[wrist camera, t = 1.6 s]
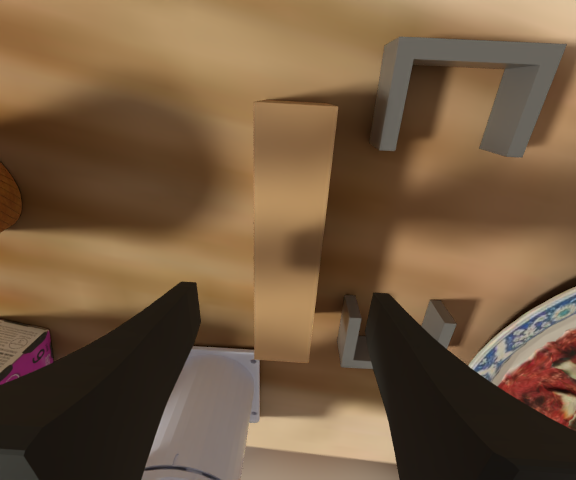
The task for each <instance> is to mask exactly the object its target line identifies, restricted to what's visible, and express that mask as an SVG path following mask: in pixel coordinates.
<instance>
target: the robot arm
mask: <svg viewBox="0 0 576 480" xmlns="http://www.w3.org/2000/svg"><path fill="white" fill-rule="evenodd" d="M200 322H201V318H200V310H199V301H198V293H197V284H196V282H180V283H179V284H177V285H176V286H175V287H173V288H172V289H171V290H169V291H168V292H167V293H166V294H164V295H163V296H162V297H160V298H159V299H158V300H156V301H155V302H154V303H152V304H151V305H150V306H148V307H147V308H145V309H144V310H143V311H141V312H140V313H138V314H137V315H135V316H134V317H133V318H131V319H130V320H128V321H127V322H125V323H124V324H122V325H121V326H119V327H118V328H116V329H115V330H113V331H111V332H110V333H108V334H106V335H105V336H103V337H101V338H99V339H98V340H96V341H94V342H92V343H91V344H89V345H87V346H85V347H83V348H81V349H79V350H77V351H75V352H73V353H71V354H69V355H67V356H65V357H63V358H61V359H59V360H57V361H55V362H53V363H51V364H49V365H47V366H44V367H42V368H40V369H38V370H35V371H33V372H31V373H28V374H26V375H24V376H21V377H19V378H16V379H14V380H11V381H9V382H6V383H4V384H1V385H0V480H240V478H241V472H242V465H243V459H244V453H245V446H246V440H247V434H248V427H249V423H257V422H258V421H259V419H260V360H252V359H254V350H250V349H233V348H217V347H200V346H193V345H194V342H195V339H196V336H197V333H198V329H199V326H200ZM365 334H366V340H367V346H368V352H369V356H370V360H371V363H372V367H373V370H374V373H375V377H376V380H377V383H378V387H379V390H380V393H381V397H382V400H383V403H384V406H385V410H386V414H387V418H388V421H389V426H390V431H391V436H392V441H393V446H394V451H395V457H396V462H397V467H398V473H399V478H400V480H576V431H574V430H572V429H570V428H568V427H566V426H564V425H562V424H560V423H558V422H556V421H555V420H553V419H551V418H549V417H547V416H545V415H544V414H542V413H540V412H538V411H537V410H535V409H533V408H532V407H530V406H528V405H526V404H525V403H523V402H521V401H520V400H518V399H516V398H515V397H513V396H512V395H510V394H508V393H507V392H505V391H504V390H502V389H501V388H499V387H498V386H496V385H495V384H493V383H492V382H490V381H489V380H487V379H486V378H484V377H483V376H481V375H480V374H478V373H477V372H476V371H474V370H473V369H472V368H470V367H469V366H468V365H466V364H465V363H464V362H462V361H461V360H460V359H458V358H457V357H456V356H455V355H453V354H452V353H451V352H450V351H448V350H447V349H446V348H445V347H444V346H443V345H441V344H440V343H439V342H438V341H437V340H436V339H434V338H433V337H432V336H431V335H430V334H429V333H428V332H427V331H426V330H425V329H424V328H423V327H421V326H420V325H419V324H418V323H417V322H416V321H415V320H414V319H413V318H412V317H411V316H410V315H409V314H408V313H407V312H406V311H405V310H404V309H403V308H402V307H401V306H400V305H399V304H398V303H397V302H396V300H395V299H394V298H393V297H392V296H390V295H389V294H387V293H373V296H372V301H371V306H370V310H369V315H368V320H367V324H366V329H365Z"/></svg>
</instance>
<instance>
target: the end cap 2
mask: <svg viewBox="0 0 576 480" xmlns="http://www.w3.org/2000/svg"><path fill="white" fill-rule="evenodd" d="M566 45H567V44H552V43H529V42H507V41H485V40H463V39H440V38H418V37H398V38H396V39H395V40H393V41H391V42H390V43H388V44H386V45H385V47H384V53H383V59H382V65H381V72H380V78H379V84H378V90H377V97H376V103H375V109H374V115H373V122H372V128H371V134H370V140H369V143H370V144H371V145H373V146H374V147H375V148H377V149H378V150H383V151H395V150H396V145H397V140H398V135H399V130H400V125H401V120H402V115H403V110H404V105H405V100H406V95H407V90H408V85H409V80H410V75H411V70H412V65H426V66H447V67H469V68H490V69H505V71H504V74H503V77H502V80H501V83H500V86H499V89H498V92H497V95H496V98H495V101H494V105H493V108H492V111H491V114H490V117H489V120H488V123H487V126H486V129H485V132H484V135H483V138H482V141H481V145H480V148H479V149H483V150H486V151H489V152H492V153H496V154H499V155H502V156H506V157H523V154H524V152H525V149H526V147H527V144H528V142H529V139H530V137H531V134H532V132H533V129H534V126H535V124H536V121H537V119H538V116H539V114H540V111H541V109H542V106H543V104H544V101H545V99H546V96H547V93H548V91H549V88H550V86H551V83H552V81H553V78H554V76H555V73H556V71H557V68H558V66H559V63H560V60H561V58H562V55H563V53H564V50H565V48H566Z"/></svg>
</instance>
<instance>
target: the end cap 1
mask: <svg viewBox="0 0 576 480" xmlns="http://www.w3.org/2000/svg"><path fill="white" fill-rule="evenodd" d="M361 319H362V318H361V314H360V311H359V307H358V303H357V300H356V296H353V295H345V296H344V303H343V309H342V315H341V321H340V328H339V334H338V340H337V344H338V351H339V357H340V364H341V367H346V368H363V369H373V367H372V363H371V360H370V356H369V352H368V346H367V340H366V336H358V334H359V329H360V324H361ZM456 325H457V324H456V322H455V321H454V319H453V318H452V316H451V315H450V313H449V312H448V310H447V309H446V307H445V306H444V305H443V303H442V302H441V301H440V300H430V302H429V305H428V308H427V311H426V314H425V317H424V320H423V323H422V326H421V327H423V328H424V329H425V330H426V331H427V332H428V333H429V334H430V335H431V336H432V337H433V338H434V339H436V340H437V341H438V342H439V343H440V344H441V345H443V346H444V347H445V348H446V349H447V347H448V345H449V342H450V340H451V337H452V335H453V332H454V330H455V327H456Z"/></svg>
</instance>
